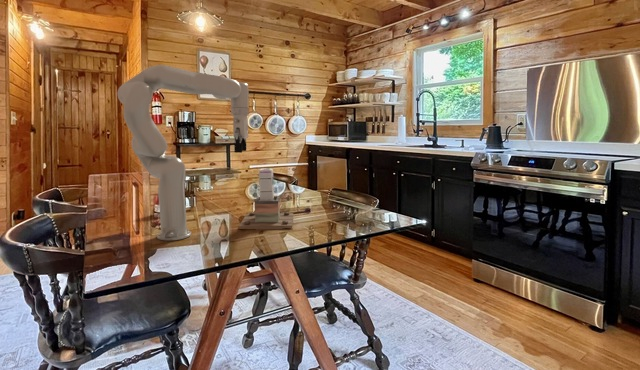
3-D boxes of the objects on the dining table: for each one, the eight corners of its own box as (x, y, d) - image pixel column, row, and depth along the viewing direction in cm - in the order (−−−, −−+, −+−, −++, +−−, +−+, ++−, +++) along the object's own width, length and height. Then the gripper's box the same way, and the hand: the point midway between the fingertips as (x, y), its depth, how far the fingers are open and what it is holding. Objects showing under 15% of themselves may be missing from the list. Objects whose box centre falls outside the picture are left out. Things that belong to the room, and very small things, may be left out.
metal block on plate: (292, 228, 165) (291, 203, 163) (239, 229, 164) (238, 204, 162) (293, 216, 187) (293, 193, 185) (246, 216, 186) (245, 194, 184)
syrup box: (273, 202, 171) (272, 169, 168) (259, 203, 171) (258, 169, 168) (274, 200, 177) (273, 168, 174) (260, 200, 176) (260, 168, 174)
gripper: (244, 111, 162) (245, 153, 164) (252, 112, 179) (252, 150, 181) (226, 111, 162) (227, 153, 164) (235, 112, 179) (236, 150, 181)
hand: (240, 151), depth 173 cm, fingers open, 9 cm apart
